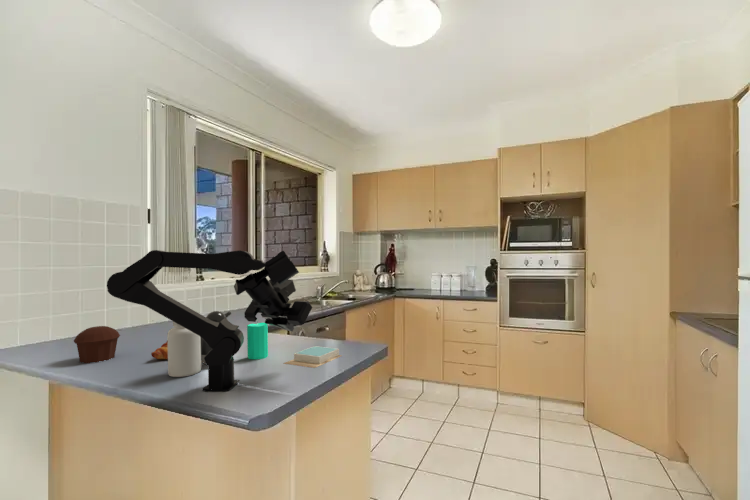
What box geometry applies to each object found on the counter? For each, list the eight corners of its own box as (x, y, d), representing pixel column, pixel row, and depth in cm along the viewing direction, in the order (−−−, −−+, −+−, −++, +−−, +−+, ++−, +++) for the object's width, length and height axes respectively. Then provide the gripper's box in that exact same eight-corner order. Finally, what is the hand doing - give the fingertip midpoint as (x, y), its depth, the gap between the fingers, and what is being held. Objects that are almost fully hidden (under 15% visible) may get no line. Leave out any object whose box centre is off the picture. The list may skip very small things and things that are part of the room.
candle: (271, 356, 117) (270, 317, 118) (263, 361, 111) (263, 320, 112) (252, 356, 118) (252, 317, 118) (244, 361, 112) (243, 320, 112)
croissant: (204, 356, 133) (196, 335, 135) (223, 344, 129) (215, 323, 131) (146, 372, 113) (138, 347, 115) (167, 359, 110) (158, 333, 112)
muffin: (73, 366, 110) (73, 332, 110) (73, 359, 118) (73, 327, 118) (122, 359, 117) (122, 327, 117) (118, 352, 126) (118, 322, 126)
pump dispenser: (242, 360, 113) (241, 309, 113) (211, 369, 104) (211, 314, 104) (220, 356, 118) (219, 307, 119) (189, 364, 109) (188, 312, 110)
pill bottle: (170, 370, 104) (169, 316, 104) (202, 367, 106) (201, 314, 107) (165, 379, 96) (164, 320, 96) (199, 375, 99) (199, 318, 99)
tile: (319, 356, 106) (338, 348, 114) (294, 353, 110) (314, 345, 119) (319, 364, 106) (338, 355, 114) (294, 360, 110) (314, 352, 119)
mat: (314, 370, 102) (314, 367, 102) (283, 365, 107) (283, 363, 107) (342, 357, 114) (342, 355, 114) (312, 353, 119) (312, 351, 119)
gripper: (307, 269, 95) (332, 307, 105) (251, 269, 103) (279, 305, 113) (287, 304, 88) (315, 342, 97) (229, 301, 96) (260, 336, 106)
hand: (292, 329), depth 103 cm, fingers closed
